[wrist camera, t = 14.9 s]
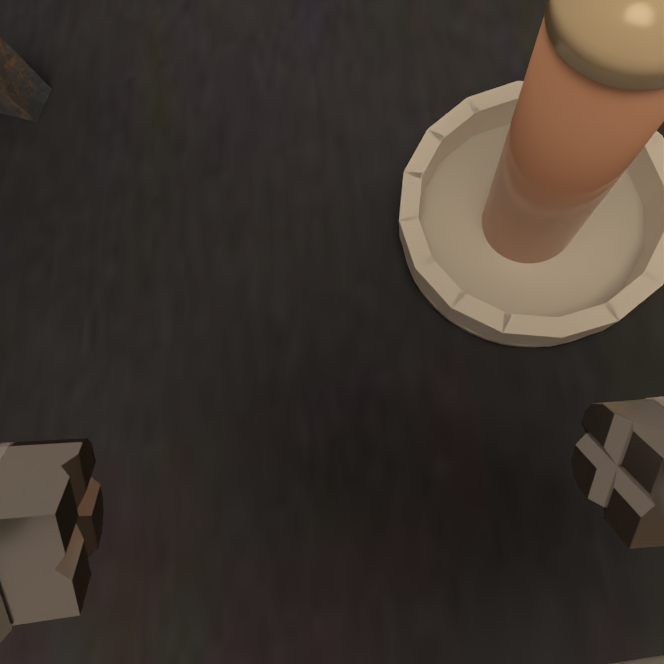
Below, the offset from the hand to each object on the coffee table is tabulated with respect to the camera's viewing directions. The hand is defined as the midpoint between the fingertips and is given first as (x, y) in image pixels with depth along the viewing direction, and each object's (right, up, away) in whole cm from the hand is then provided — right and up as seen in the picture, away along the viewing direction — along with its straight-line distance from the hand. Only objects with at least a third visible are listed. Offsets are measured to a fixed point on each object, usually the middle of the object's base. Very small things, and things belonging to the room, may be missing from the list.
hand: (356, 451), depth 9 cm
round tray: (+11, +8, +22) cm, 26 cm away
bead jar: (+10, +8, +21) cm, 25 cm away
